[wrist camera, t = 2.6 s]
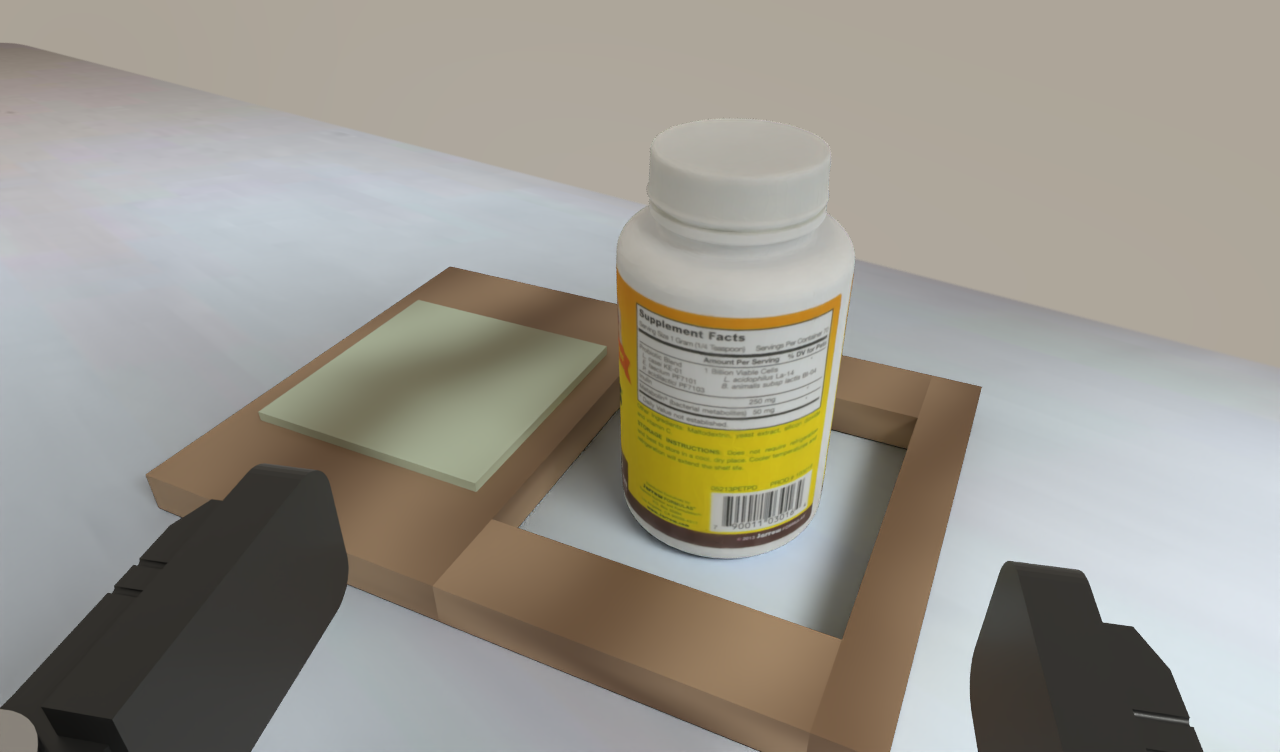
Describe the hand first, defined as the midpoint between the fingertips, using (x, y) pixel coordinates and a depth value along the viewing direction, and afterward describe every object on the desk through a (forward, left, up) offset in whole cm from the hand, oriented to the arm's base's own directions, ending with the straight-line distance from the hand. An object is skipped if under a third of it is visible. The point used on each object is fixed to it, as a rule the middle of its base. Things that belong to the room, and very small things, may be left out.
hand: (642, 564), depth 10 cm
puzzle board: (+7, -11, -9) cm, 16 cm away
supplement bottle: (+3, -11, -9) cm, 15 cm away
